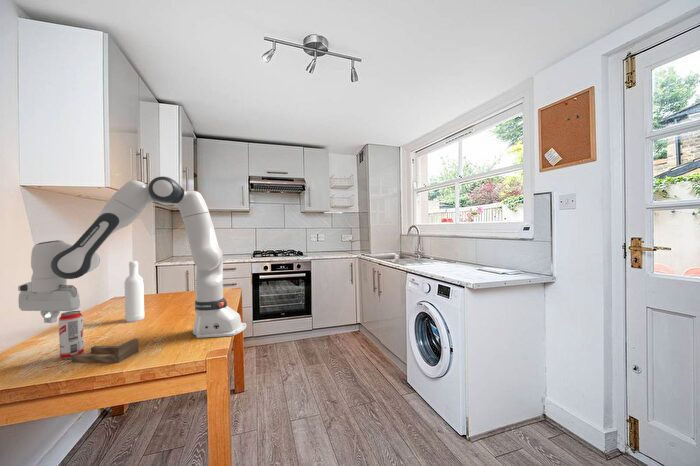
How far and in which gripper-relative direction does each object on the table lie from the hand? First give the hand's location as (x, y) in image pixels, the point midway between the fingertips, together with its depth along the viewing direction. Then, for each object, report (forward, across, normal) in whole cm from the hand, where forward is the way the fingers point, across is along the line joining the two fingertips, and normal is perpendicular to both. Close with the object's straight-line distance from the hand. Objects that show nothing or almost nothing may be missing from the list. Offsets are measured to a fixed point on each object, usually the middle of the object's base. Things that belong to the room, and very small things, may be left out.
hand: (50, 322), depth 103 cm
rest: (+12, -21, 0) cm, 25 cm away
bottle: (+12, +3, -41) cm, 43 cm away
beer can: (+12, -8, 0) cm, 15 cm away
